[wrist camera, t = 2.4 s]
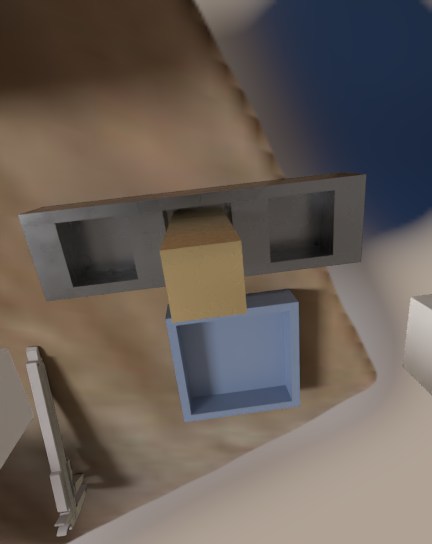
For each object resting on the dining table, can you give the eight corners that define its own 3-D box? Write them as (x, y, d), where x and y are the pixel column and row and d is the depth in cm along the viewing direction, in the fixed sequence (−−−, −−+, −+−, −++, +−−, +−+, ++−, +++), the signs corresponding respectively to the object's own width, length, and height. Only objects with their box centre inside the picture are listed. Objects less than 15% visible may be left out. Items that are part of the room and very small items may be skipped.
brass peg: (173, 211, 26) (159, 250, 15) (220, 205, 26) (241, 240, 15) (180, 256, 28) (172, 322, 16) (224, 250, 28) (247, 313, 16)
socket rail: (65, 282, 29) (46, 301, 25) (42, 207, 26) (17, 215, 23) (339, 248, 30) (361, 261, 26) (342, 172, 27) (366, 174, 23)
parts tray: (167, 304, 30) (165, 319, 27) (288, 288, 31) (298, 301, 28) (185, 400, 34) (184, 422, 32) (291, 386, 35) (300, 406, 32)
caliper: (89, 484, 38) (71, 543, 32) (80, 485, 38) (60, 545, 32) (39, 344, 31) (3, 387, 25) (27, 345, 31) (-11, 389, 25)
